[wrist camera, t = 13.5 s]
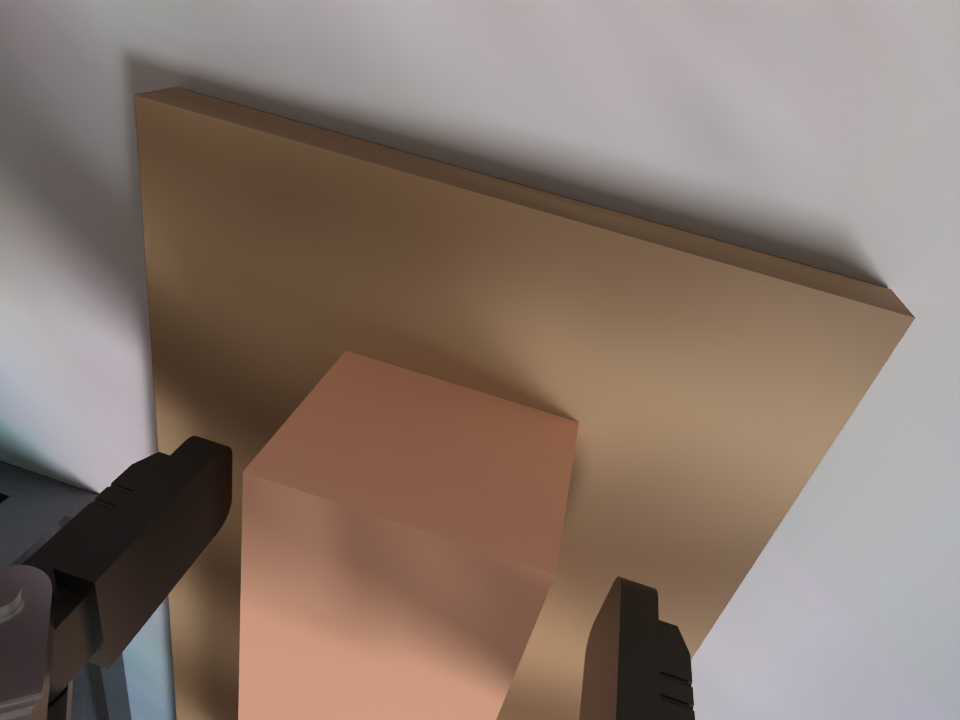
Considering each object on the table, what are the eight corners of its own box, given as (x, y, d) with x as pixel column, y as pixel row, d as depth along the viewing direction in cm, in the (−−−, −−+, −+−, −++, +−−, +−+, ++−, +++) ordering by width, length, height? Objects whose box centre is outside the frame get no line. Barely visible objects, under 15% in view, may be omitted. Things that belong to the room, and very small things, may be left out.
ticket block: (345, 350, 13) (242, 471, 10) (579, 422, 13) (555, 574, 9) (296, 776, 23) (234, 913, 19) (430, 825, 22) (391, 974, 19)
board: (175, 87, 13) (134, 94, 12) (890, 289, 11) (914, 317, 10) (199, 755, 26) (181, 786, 25) (528, 878, 25) (523, 915, 24)
